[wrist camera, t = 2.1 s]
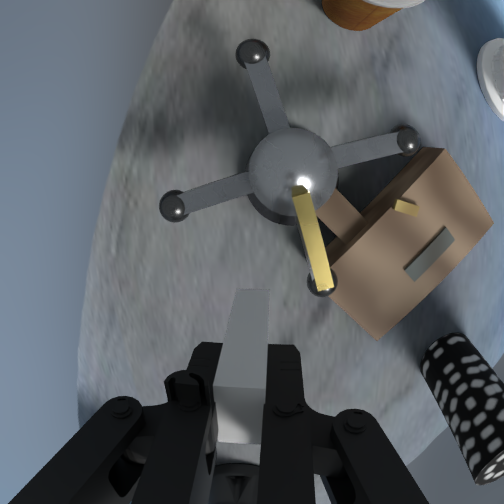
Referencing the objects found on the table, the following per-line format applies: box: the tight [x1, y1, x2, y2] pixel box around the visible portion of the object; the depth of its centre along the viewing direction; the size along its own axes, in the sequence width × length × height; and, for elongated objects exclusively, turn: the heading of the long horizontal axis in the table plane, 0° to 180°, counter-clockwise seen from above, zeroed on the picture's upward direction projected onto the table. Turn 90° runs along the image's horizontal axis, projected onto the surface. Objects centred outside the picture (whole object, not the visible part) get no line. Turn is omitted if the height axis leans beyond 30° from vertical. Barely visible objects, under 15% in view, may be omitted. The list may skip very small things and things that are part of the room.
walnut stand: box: [315, 147, 494, 341], centre depth 30 cm, size 18×16×6 cm
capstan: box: [159, 39, 420, 297], centre depth 26 cm, size 22×22×11 cm
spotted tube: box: [420, 333, 504, 485], centre depth 28 cm, size 8×8×20 cm
